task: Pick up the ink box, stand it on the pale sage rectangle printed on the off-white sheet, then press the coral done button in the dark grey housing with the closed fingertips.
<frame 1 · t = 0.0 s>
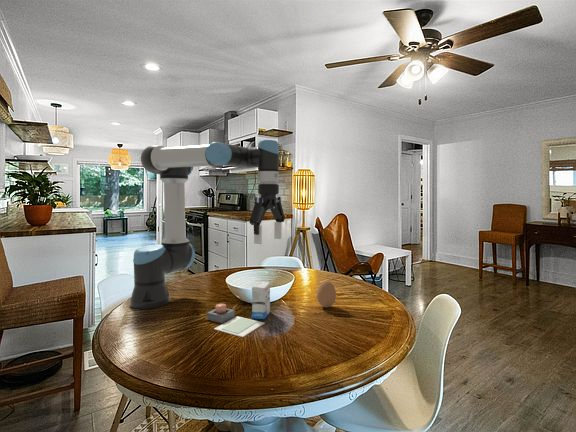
hand: (268, 241, 122), 28 cm above the table, fingers open, 13 cm apart
button housing: (221, 318, 120), on the table
ink box: (261, 315, 124), on the table
done button: (220, 308, 120), point 3 cm above the table, slide at 0.0 cm
egg: (326, 307, 133), on the table
sheet: (239, 326, 113), on the table
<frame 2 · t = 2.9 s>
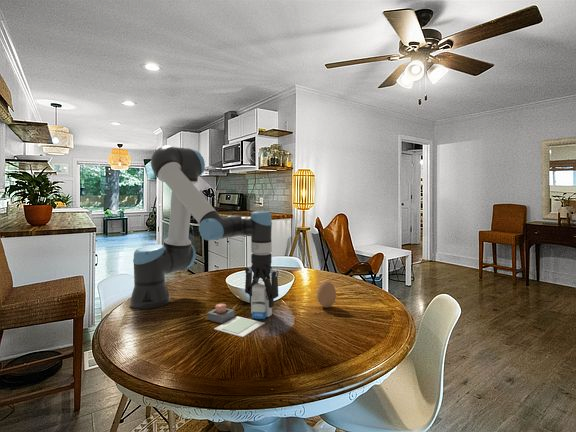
hand: (261, 313, 124), 0 cm above the table, fingers closed on ink box, 6 cm apart
ink box: (261, 315, 124), on the table, touching gripper
everything else where it was.
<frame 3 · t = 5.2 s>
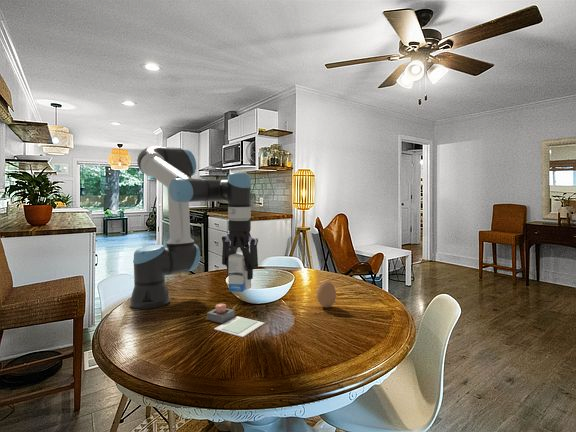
hand: (239, 287, 112), 14 cm above the table, fingers closed on ink box, 6 cm apart
ink box: (239, 288, 112), point 13 cm above the table, touching gripper
everything else where it was.
when the fingers open (2 cm above the table, at t = 7.6 s): ink box stays where it is, resting on sheet.
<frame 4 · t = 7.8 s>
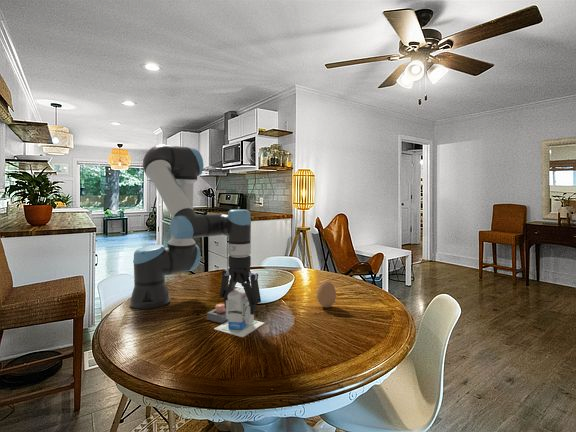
hand: (239, 320, 113), 2 cm above the table, fingers open, 8 cm apart
ink box: (239, 325, 113), resting on sheet
everything else where it was.
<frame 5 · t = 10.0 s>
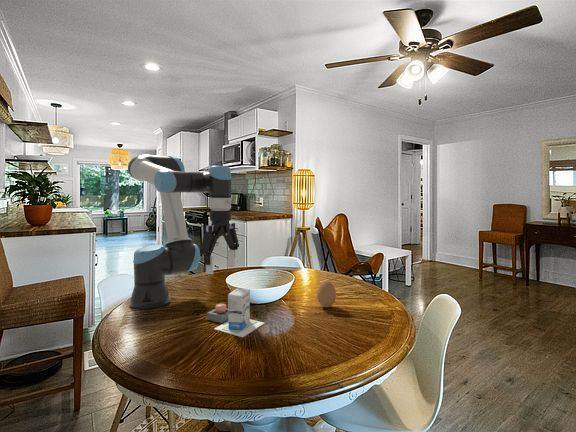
hand: (220, 270, 119), 18 cm above the table, fingers open, 11 cm apart
nothing on the table moved.
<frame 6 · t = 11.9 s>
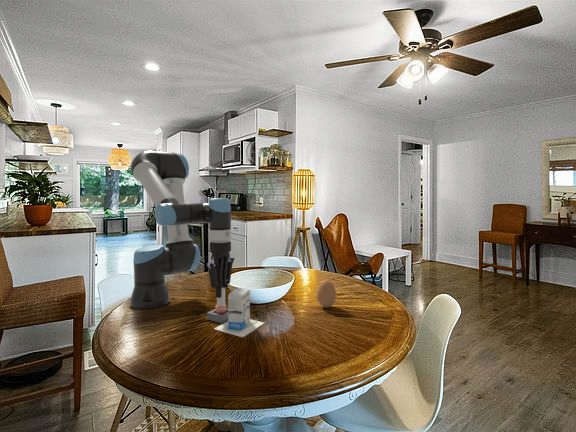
hand: (221, 305, 120), 5 cm above the table, fingers closed
done button: (220, 309, 120), point 3 cm above the table, slide at 0.1 cm, touching gripper
everything else where it was.
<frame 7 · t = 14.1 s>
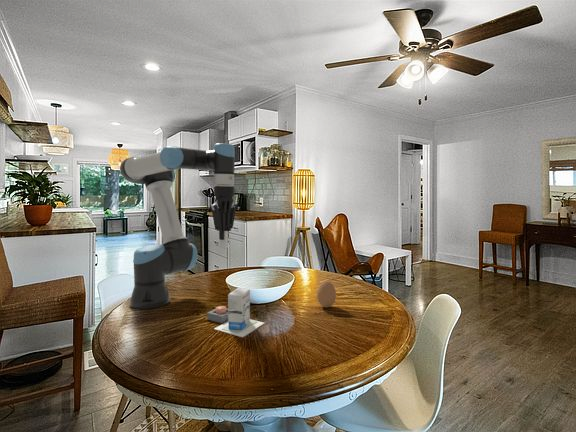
hand: (224, 247, 126), 25 cm above the table, fingers closed
done button: (221, 311, 120), point 3 cm above the table, slide at 0.9 cm
everything else where it was.
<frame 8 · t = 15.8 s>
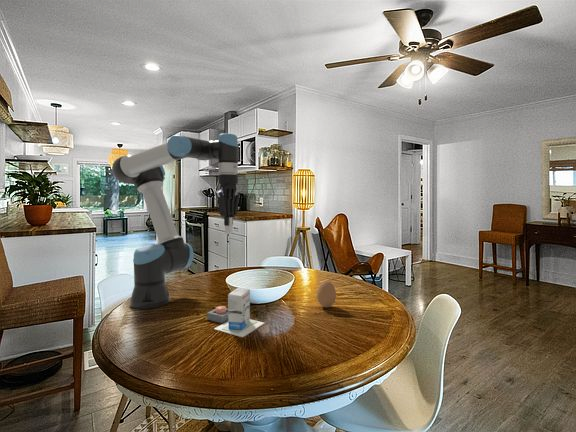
hand: (228, 233, 132), 29 cm above the table, fingers closed
nothing on the table moved.
at the end: ink box inside the target area on the sheet (0.2 cm from its centre), point 0.3 cm above the sheet's base; ink box tilted 0°; done button slide at 0.9 cm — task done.
